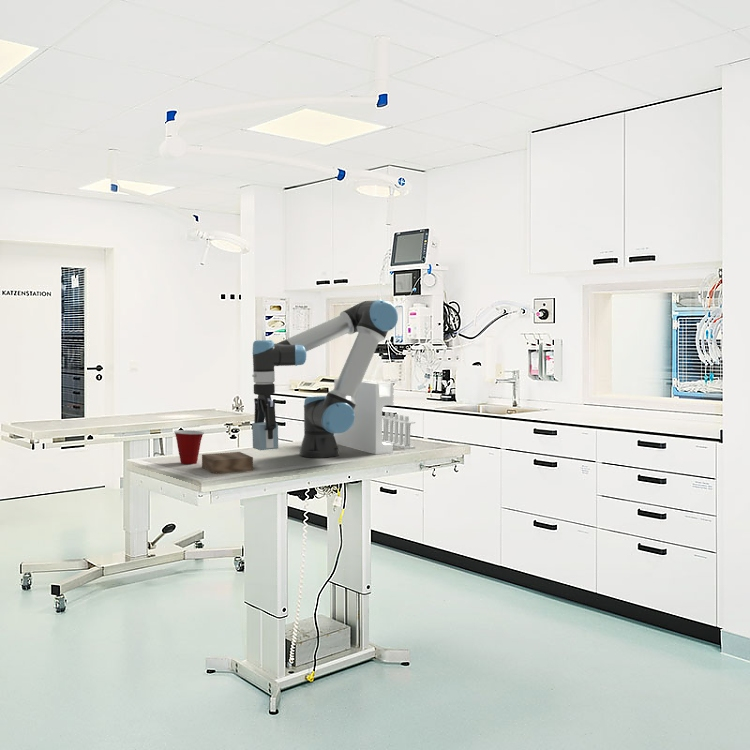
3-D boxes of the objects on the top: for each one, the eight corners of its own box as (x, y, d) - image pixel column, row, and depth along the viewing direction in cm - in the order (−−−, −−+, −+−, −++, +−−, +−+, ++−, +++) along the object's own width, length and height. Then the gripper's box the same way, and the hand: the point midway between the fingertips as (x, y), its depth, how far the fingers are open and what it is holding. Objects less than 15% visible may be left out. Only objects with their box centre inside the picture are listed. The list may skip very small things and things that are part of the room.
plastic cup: (210, 463, 295) (209, 430, 295) (183, 466, 288) (182, 433, 287) (195, 459, 303) (195, 427, 303) (169, 462, 296) (168, 430, 296)
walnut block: (239, 465, 294) (239, 451, 294) (253, 471, 282) (252, 457, 281) (202, 468, 287) (201, 454, 287) (214, 474, 275) (213, 460, 275)
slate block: (270, 446, 296) (270, 421, 295) (278, 448, 290) (277, 423, 289) (252, 447, 292) (252, 423, 292) (260, 450, 286) (259, 425, 286)
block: (334, 443, 348) (334, 378, 346) (350, 441, 352) (350, 377, 350) (375, 454, 318) (376, 383, 316) (393, 453, 322) (393, 383, 320)
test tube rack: (378, 441, 354) (378, 411, 353) (387, 440, 356) (387, 411, 355) (406, 449, 332) (406, 417, 331) (415, 448, 334) (415, 417, 333)
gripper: (244, 382, 296) (245, 443, 298) (265, 385, 279) (266, 451, 281) (263, 380, 300) (264, 442, 302) (284, 384, 283) (286, 449, 284)
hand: (265, 446), depth 291 cm, fingers closed on slate block, 7 cm apart
